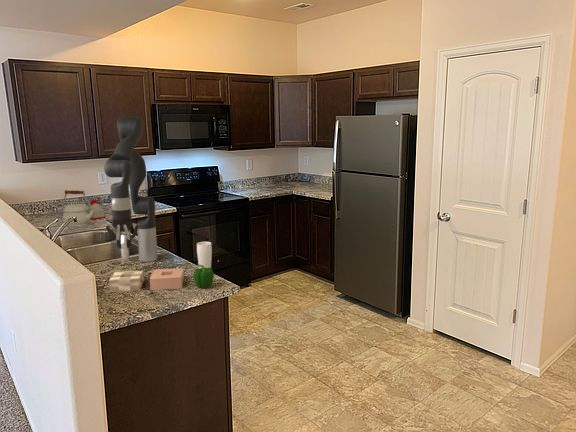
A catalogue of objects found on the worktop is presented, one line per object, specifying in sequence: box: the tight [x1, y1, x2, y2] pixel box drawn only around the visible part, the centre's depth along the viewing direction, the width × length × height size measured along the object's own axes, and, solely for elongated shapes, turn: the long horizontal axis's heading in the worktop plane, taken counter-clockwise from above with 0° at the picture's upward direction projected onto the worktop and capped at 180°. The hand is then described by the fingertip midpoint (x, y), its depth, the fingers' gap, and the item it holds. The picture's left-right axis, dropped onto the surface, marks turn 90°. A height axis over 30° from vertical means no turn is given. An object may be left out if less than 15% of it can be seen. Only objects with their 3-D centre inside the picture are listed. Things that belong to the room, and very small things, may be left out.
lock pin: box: [120, 233, 130, 264], centre depth 189 cm, size 3×3×12 cm
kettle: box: [60, 189, 94, 228], centre depth 318 cm, size 25×18×25 cm
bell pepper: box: [193, 264, 215, 289], centre depth 191 cm, size 8×8×10 cm
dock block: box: [149, 267, 185, 291], centre depth 195 cm, size 13×13×5 cm
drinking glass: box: [196, 241, 213, 269], centre depth 207 cm, size 7×7×15 cm
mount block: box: [108, 270, 145, 293], centre depth 192 cm, size 12×12×5 cm
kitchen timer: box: [87, 198, 106, 221], centre depth 343 cm, size 14×14×15 cm
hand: (124, 247), depth 189 cm, fingers closed on lock pin, 3 cm apart
